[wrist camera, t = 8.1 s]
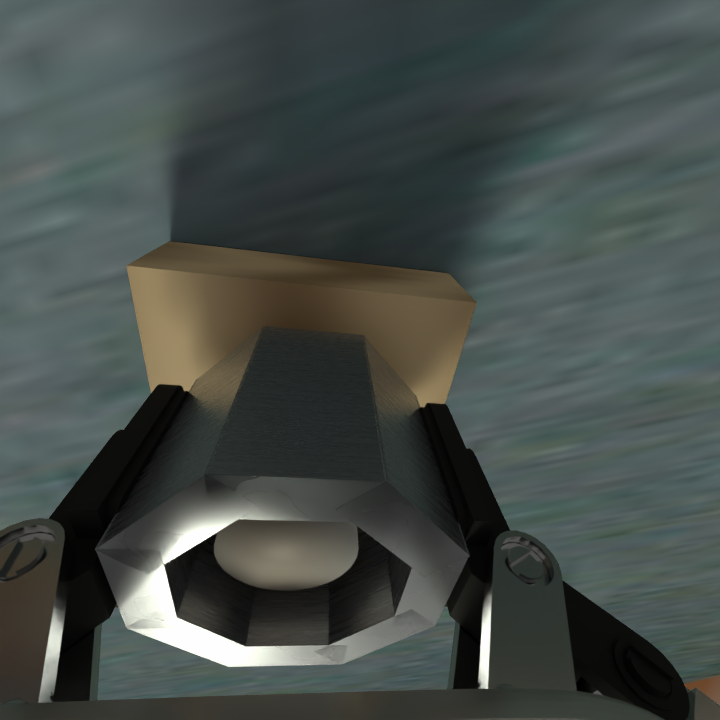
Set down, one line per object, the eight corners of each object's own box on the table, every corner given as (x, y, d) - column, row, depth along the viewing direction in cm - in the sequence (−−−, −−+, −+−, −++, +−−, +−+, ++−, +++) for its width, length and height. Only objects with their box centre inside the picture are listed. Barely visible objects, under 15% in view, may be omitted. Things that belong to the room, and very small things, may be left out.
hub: (430, 340, 10) (504, 486, 6) (390, 495, 13) (418, 662, 9) (188, 318, 9) (62, 467, 5) (208, 488, 12) (141, 668, 8)
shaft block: (448, 273, 14) (587, 419, 6) (407, 433, 17) (461, 637, 10) (169, 241, 12) (-71, 376, 5) (192, 421, 16) (78, 645, 9)
